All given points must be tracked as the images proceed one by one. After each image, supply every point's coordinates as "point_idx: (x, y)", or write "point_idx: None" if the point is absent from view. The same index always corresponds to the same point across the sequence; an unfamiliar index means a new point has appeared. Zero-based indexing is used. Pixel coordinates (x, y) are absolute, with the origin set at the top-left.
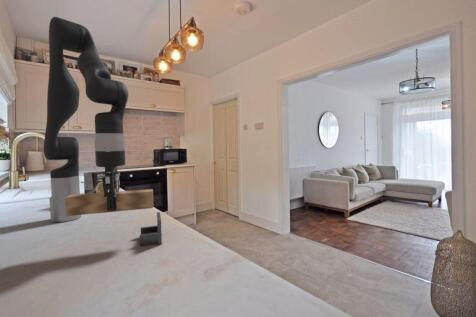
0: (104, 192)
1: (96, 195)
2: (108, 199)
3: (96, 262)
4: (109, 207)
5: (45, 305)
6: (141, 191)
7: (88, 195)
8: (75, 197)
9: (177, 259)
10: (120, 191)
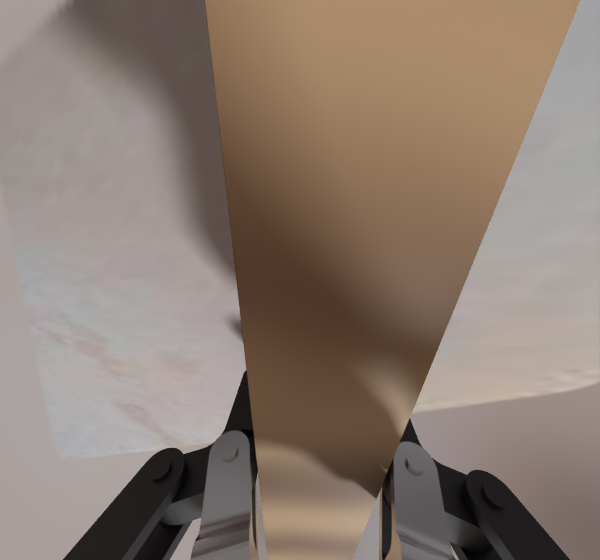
0: (112, 507)
1: (254, 403)
2: (226, 428)
3: (206, 243)
4: (244, 378)
5: (20, 177)
6: (296, 557)
7: (294, 339)
8: (231, 193)
9: (187, 384)
10: (369, 509)
